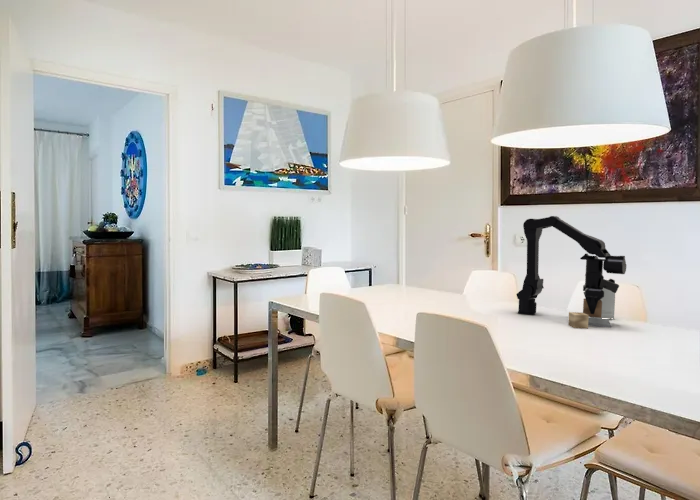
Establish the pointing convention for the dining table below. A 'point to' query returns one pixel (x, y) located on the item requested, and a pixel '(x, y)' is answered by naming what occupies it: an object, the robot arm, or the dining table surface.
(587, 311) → the walnut cube
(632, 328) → the dining table surface
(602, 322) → the plate
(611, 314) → the supplement box
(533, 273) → the robot arm
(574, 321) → the oak cube
